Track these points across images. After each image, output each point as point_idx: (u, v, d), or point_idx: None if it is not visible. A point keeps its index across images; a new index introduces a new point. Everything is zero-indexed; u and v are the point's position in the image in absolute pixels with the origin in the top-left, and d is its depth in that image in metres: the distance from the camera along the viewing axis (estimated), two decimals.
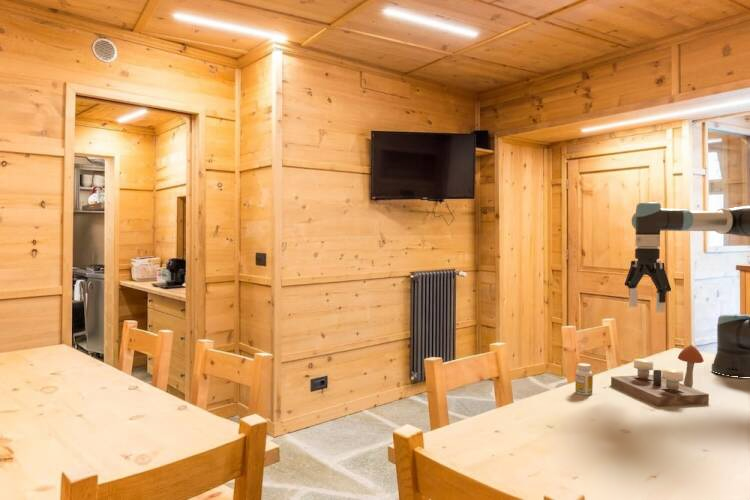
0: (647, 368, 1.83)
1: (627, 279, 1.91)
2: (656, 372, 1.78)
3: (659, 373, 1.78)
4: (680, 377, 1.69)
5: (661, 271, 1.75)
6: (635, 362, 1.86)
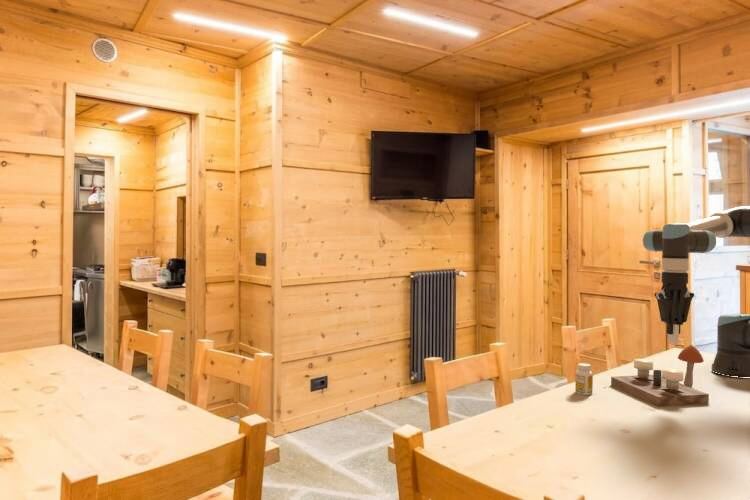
0: (647, 368, 1.83)
1: None
2: (656, 372, 1.78)
3: (659, 373, 1.78)
4: (680, 377, 1.69)
5: (659, 302, 1.71)
6: (635, 362, 1.86)
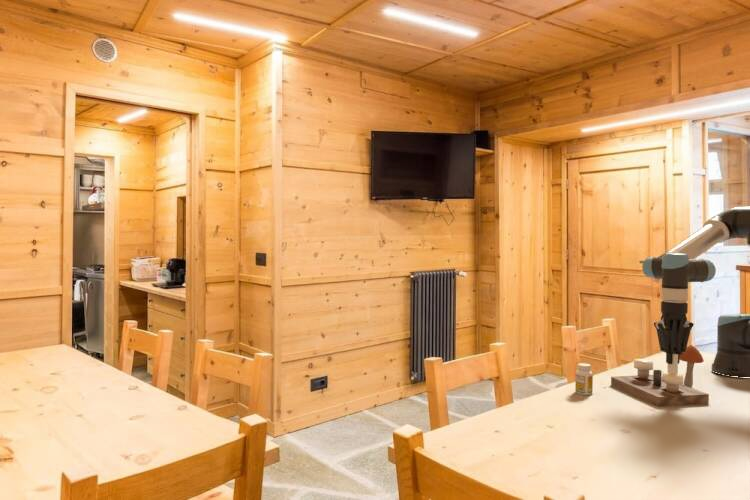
0: (647, 368, 1.83)
1: None
2: (656, 372, 1.78)
3: (659, 373, 1.78)
4: (680, 380, 1.69)
5: (659, 332, 1.71)
6: (635, 362, 1.86)
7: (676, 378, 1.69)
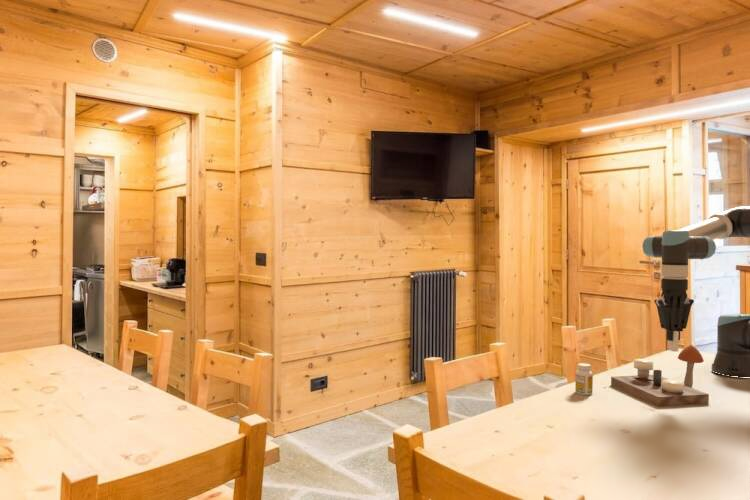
0: (647, 368, 1.83)
1: None
2: (656, 372, 1.78)
3: (659, 373, 1.78)
4: (680, 388, 1.69)
5: (659, 309, 1.71)
6: (635, 362, 1.86)
7: (676, 386, 1.69)
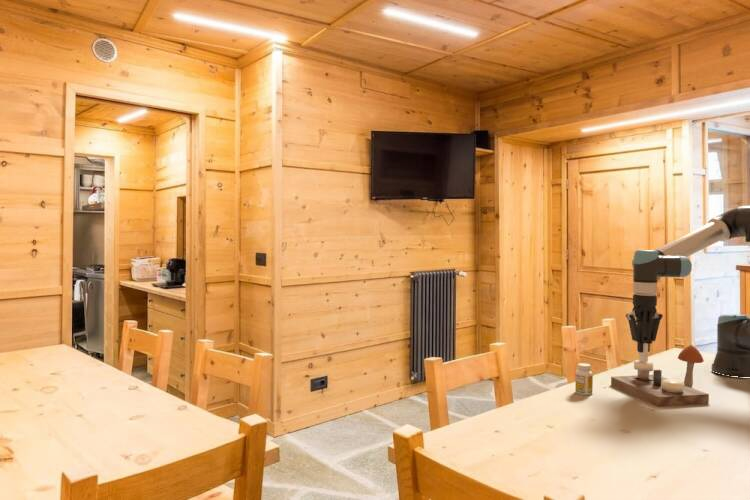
0: (647, 369, 1.83)
1: None
2: (656, 372, 1.78)
3: (659, 373, 1.78)
4: (680, 388, 1.69)
5: (630, 322, 1.85)
6: (635, 363, 1.86)
7: (676, 386, 1.69)
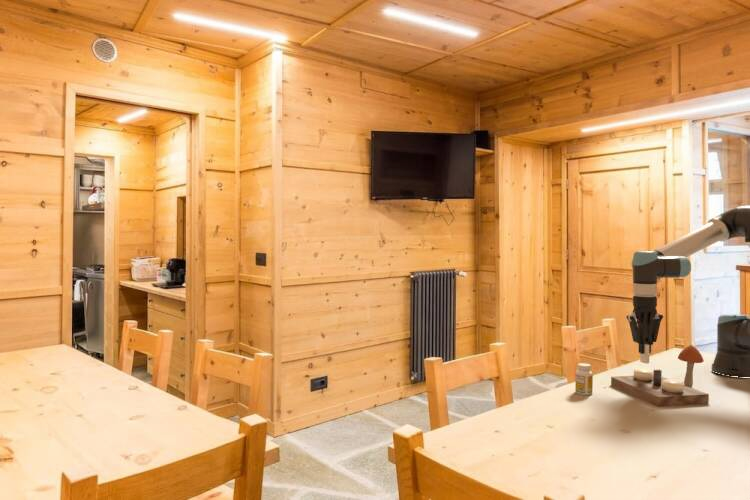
0: (647, 378, 1.83)
1: None
2: (656, 372, 1.78)
3: (659, 373, 1.78)
4: (680, 388, 1.69)
5: (631, 324, 1.85)
6: (635, 372, 1.86)
7: (676, 386, 1.69)
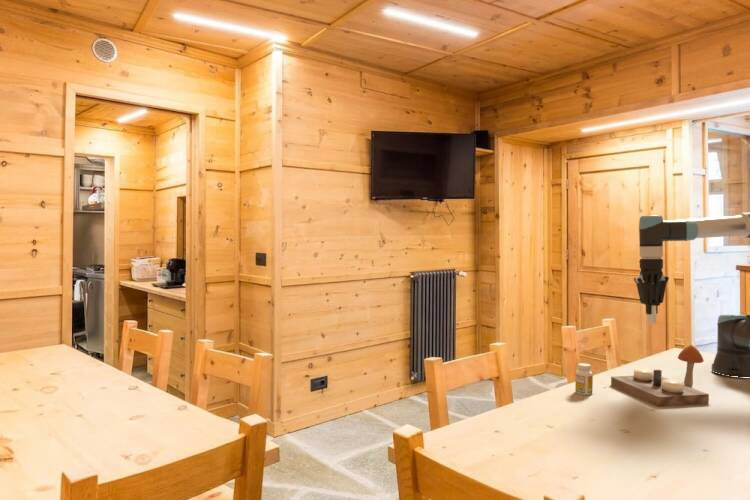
0: (647, 378, 1.83)
1: None
2: (656, 372, 1.78)
3: (659, 373, 1.78)
4: (680, 388, 1.69)
5: (638, 286, 1.91)
6: (635, 372, 1.86)
7: (676, 386, 1.69)
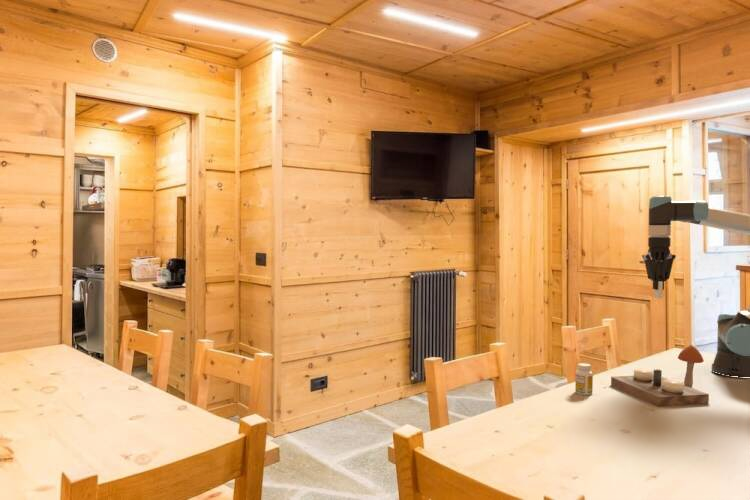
0: (647, 378, 1.83)
1: None
2: (656, 372, 1.78)
3: (659, 373, 1.78)
4: (680, 388, 1.69)
5: (646, 262, 2.03)
6: (635, 372, 1.86)
7: (676, 386, 1.69)
